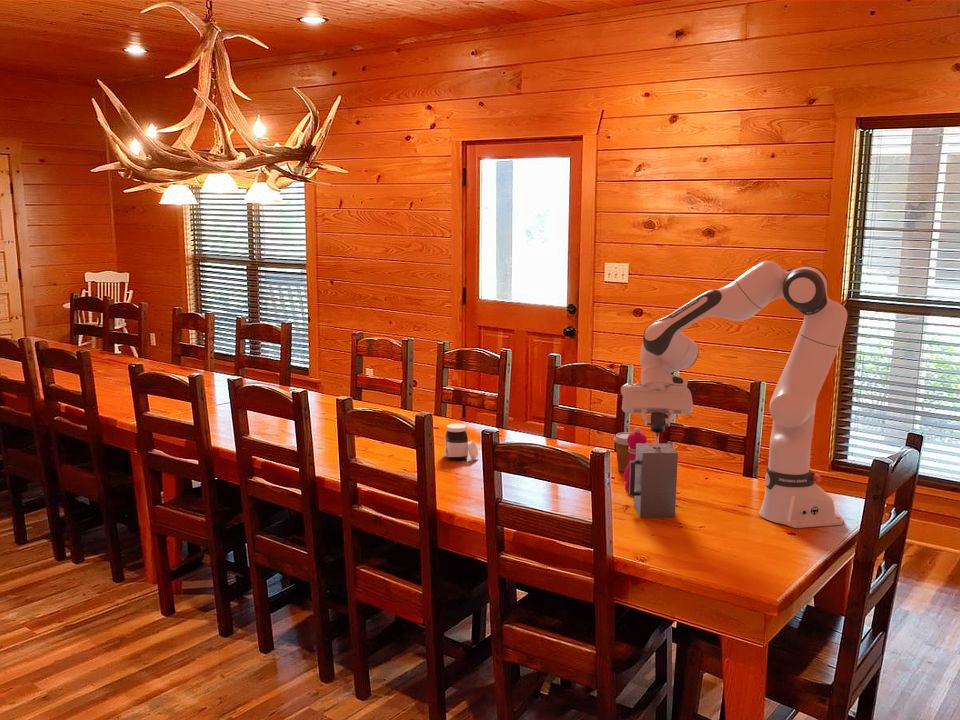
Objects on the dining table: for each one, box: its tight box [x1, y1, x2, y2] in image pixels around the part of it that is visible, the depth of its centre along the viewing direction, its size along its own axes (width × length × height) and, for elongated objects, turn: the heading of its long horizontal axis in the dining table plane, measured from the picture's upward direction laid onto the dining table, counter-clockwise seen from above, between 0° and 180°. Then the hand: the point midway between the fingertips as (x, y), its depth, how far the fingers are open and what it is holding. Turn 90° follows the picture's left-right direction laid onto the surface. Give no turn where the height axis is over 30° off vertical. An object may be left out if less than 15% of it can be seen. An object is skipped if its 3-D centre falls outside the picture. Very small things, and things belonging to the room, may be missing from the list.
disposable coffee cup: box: [613, 431, 632, 473], centre depth 294 cm, size 10×10×12 cm
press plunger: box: [649, 412, 666, 449], centre depth 252 cm, size 8×8×17 cm
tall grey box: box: [628, 442, 679, 518], centre depth 254 cm, size 12×10×19 cm
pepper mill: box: [623, 427, 648, 492], centre depth 274 cm, size 7×7×20 cm
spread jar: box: [444, 423, 479, 462], centre depth 306 cm, size 12×11×12 cm
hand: (657, 424), depth 250 cm, fingers closed on press plunger, 4 cm apart
